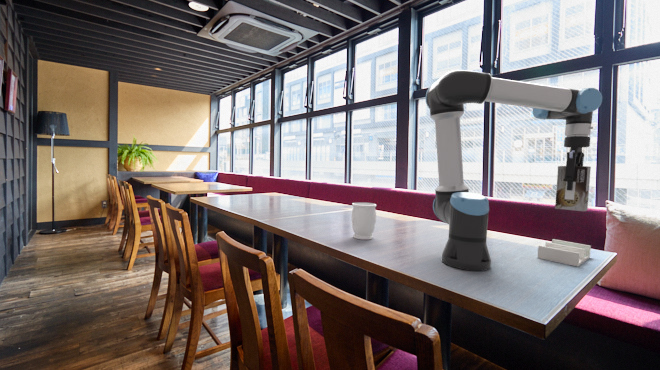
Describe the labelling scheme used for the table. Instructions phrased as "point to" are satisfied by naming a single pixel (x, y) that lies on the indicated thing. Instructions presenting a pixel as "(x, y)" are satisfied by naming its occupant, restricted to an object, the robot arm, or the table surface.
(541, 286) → the table surface
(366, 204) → the jar
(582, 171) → the coffee box
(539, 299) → the table surface
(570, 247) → the comb rack
